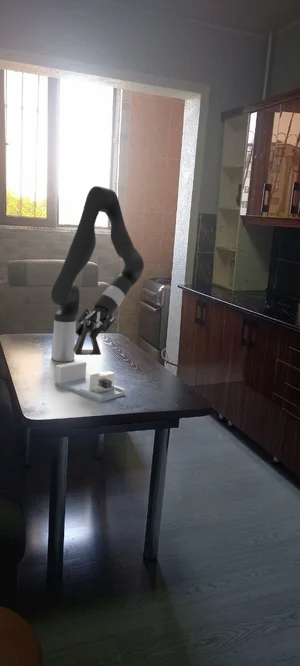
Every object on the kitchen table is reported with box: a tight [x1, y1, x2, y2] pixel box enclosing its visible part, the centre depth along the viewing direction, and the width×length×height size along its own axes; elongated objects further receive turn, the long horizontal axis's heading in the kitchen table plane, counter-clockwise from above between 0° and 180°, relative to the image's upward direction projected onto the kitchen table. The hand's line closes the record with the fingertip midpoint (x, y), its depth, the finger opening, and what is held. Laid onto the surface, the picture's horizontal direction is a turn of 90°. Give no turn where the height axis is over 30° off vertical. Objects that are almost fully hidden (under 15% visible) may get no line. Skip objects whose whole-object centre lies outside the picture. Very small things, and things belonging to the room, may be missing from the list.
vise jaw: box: [89, 370, 116, 394], centre depth 177 cm, size 5×9×6 cm, turn 139°
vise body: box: [54, 360, 126, 403], centre depth 181 cm, size 24×12×7 cm, turn 49°
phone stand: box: [73, 318, 102, 356], centre depth 180 cm, size 9×6×12 cm, turn 105°
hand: (84, 336), depth 178 cm, fingers closed on phone stand, 6 cm apart
